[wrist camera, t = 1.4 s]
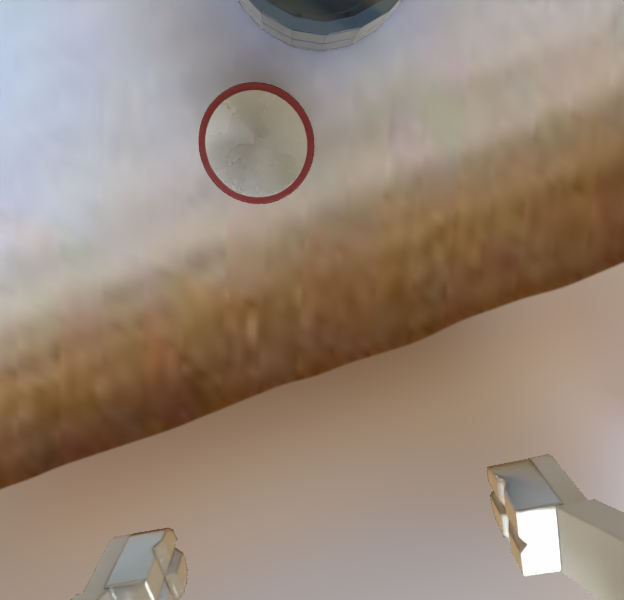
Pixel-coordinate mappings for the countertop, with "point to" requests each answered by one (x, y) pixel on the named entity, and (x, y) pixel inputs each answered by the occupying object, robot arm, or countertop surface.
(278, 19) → the bowl
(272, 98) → the can
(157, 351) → the countertop surface
